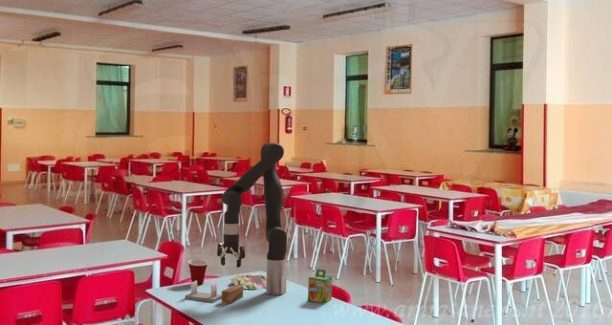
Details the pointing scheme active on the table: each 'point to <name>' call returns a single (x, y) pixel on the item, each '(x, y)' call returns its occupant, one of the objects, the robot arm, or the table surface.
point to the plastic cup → (198, 270)
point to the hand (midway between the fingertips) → (230, 266)
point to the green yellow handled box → (320, 287)
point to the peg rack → (203, 296)
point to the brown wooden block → (232, 294)
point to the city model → (250, 281)
